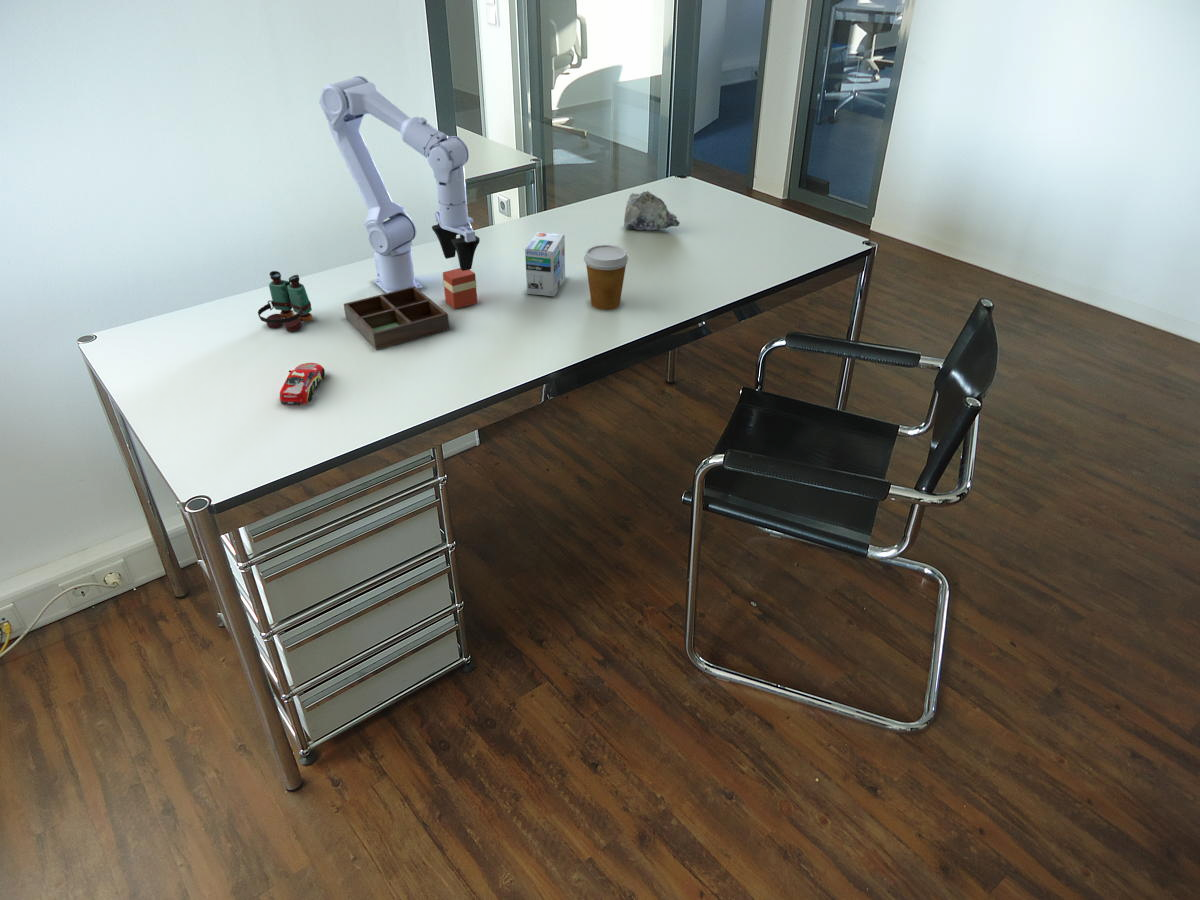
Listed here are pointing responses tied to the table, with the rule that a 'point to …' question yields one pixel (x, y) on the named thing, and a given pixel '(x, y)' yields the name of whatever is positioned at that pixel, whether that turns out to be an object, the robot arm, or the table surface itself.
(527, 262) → the light bulb box
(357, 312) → the organiser
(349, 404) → the table surface
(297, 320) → the binoculars
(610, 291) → the disposable coffee cup
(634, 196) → the mineral rock
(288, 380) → the race car
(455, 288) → the red cream striped block
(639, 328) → the table surface
